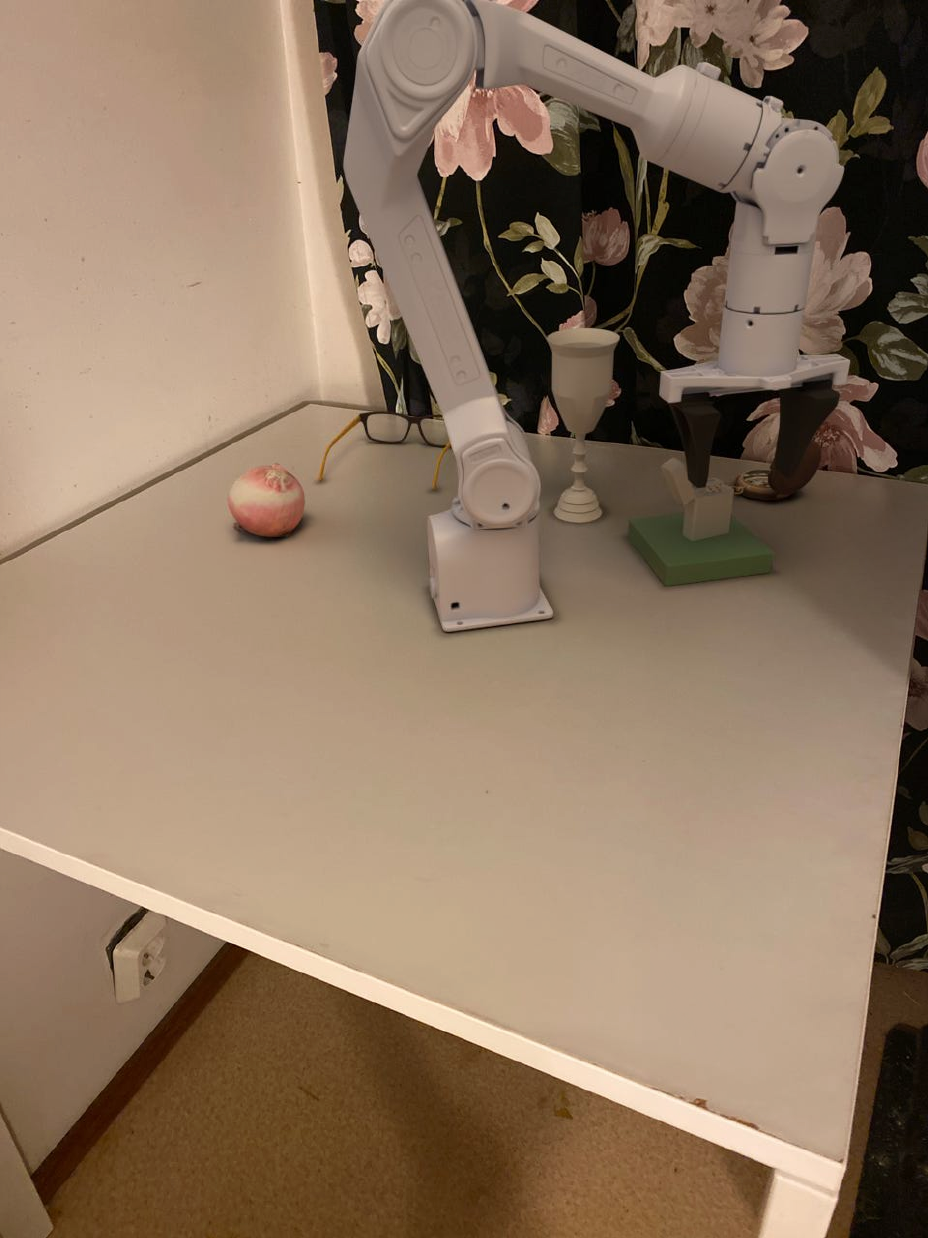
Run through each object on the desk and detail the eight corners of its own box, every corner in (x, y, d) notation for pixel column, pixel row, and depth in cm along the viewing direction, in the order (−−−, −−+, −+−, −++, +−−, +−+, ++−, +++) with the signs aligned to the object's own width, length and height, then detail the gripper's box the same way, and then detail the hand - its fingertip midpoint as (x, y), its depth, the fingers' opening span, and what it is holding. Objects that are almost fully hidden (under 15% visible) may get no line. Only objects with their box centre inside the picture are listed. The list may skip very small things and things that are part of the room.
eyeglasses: (470, 446, 109) (469, 415, 107) (434, 491, 97) (432, 458, 95) (365, 439, 112) (362, 409, 110) (318, 482, 101) (313, 449, 99)
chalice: (614, 526, 88) (624, 346, 78) (547, 528, 88) (549, 349, 78) (606, 496, 94) (614, 326, 84) (543, 498, 94) (544, 329, 85)
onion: (282, 553, 86) (270, 486, 82) (217, 542, 88) (202, 477, 85) (322, 519, 92) (312, 455, 88) (260, 511, 95) (248, 448, 91)
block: (665, 586, 77) (667, 566, 76) (627, 537, 85) (628, 519, 84) (770, 572, 78) (773, 553, 77) (723, 526, 87) (725, 507, 86)
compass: (765, 474, 97) (774, 411, 93) (816, 500, 91) (829, 433, 87) (707, 489, 94) (714, 424, 91) (756, 516, 88) (766, 448, 84)
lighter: (718, 525, 82) (728, 445, 78) (729, 532, 81) (740, 451, 77) (654, 540, 80) (660, 458, 76) (664, 547, 79) (671, 465, 75)
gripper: (692, 326, 59) (675, 507, 67) (886, 308, 61) (849, 486, 68) (655, 305, 65) (643, 473, 72) (833, 289, 67) (804, 455, 74)
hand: (740, 478), depth 71 cm, fingers open, 7 cm apart
